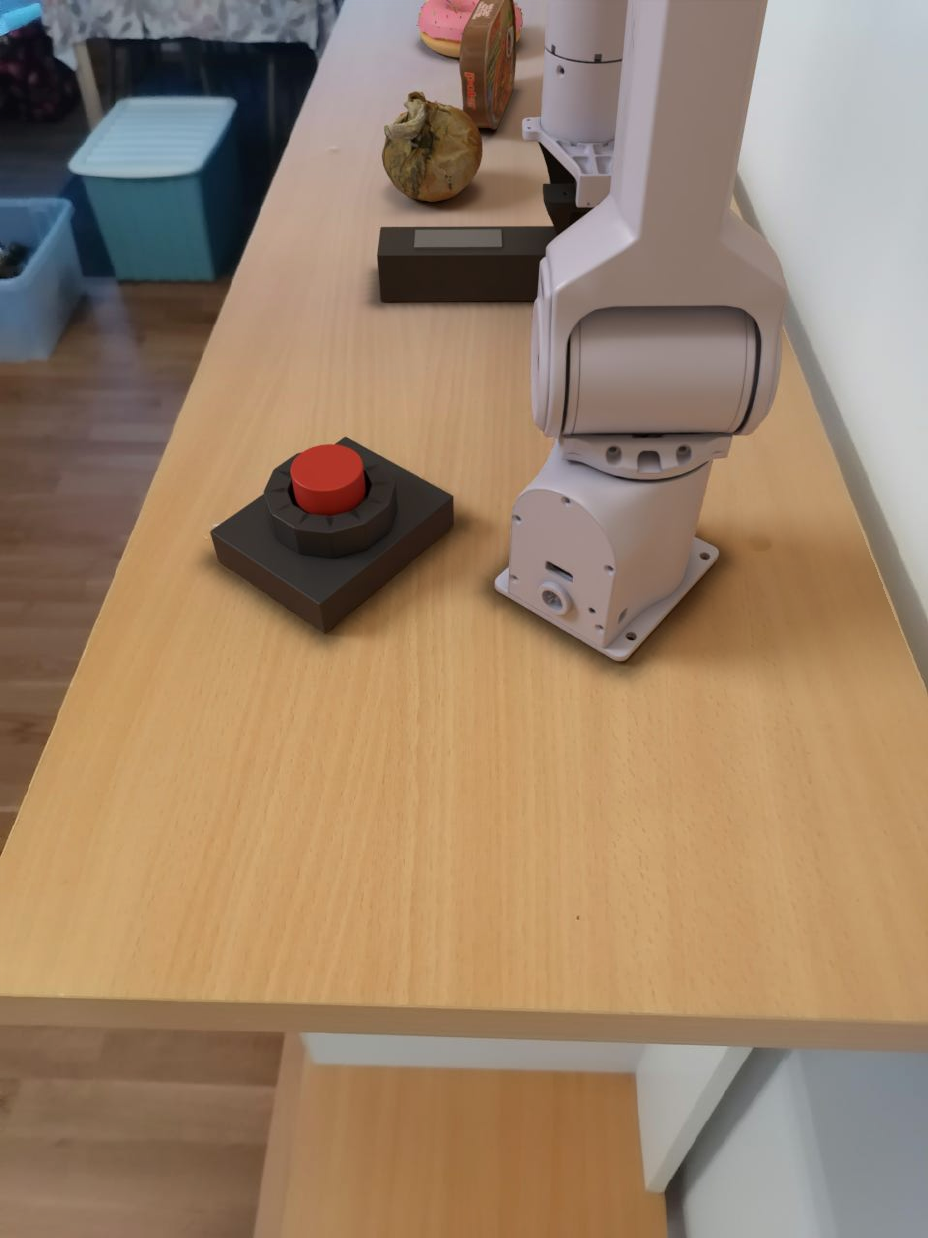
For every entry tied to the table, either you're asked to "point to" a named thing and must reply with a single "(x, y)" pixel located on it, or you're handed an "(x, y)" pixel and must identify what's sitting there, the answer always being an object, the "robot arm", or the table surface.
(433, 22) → the doughnut
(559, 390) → the robot arm
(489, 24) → the tin
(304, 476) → the button
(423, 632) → the table surface
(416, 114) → the onion
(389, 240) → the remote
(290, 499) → the button block
